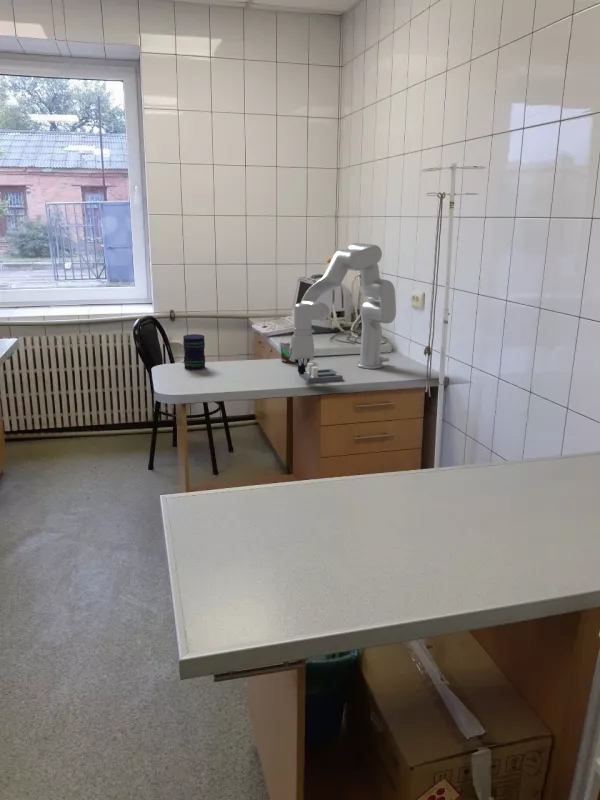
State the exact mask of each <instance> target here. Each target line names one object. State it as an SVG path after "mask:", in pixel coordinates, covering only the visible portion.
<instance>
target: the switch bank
mask: <svg viewBox="0 0 600 800" xmlns="http://www.w3.org/2000/svg"><path fill="white" fill-rule="evenodd" d="M306 372H307V370H305V372H304V374H302V375H301V374H299V373H298V376H299V377H300V378H302V379H303V380H304V381H305V382H306V383H308V384H314V383H316V384H317V383H328V382H339V381H343V375H342V374H340V373H339V372H337V371H336V370H335V369H333V368H324V369H323V368H322V369H318V377H313V378H312V377H311V373H308V374H307V373H306Z"/></svg>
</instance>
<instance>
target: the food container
mask: <svg viewBox="0 0 600 800" xmlns="http://www.w3.org/2000/svg"><path fill="white" fill-rule="evenodd" d="M278 346H279V347H280V358H281V363H284V364H297V363H296V362H292V361H290V355H289V351H290V342H287V343H284V342H281V341H280V342H279V345H278Z"/></svg>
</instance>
